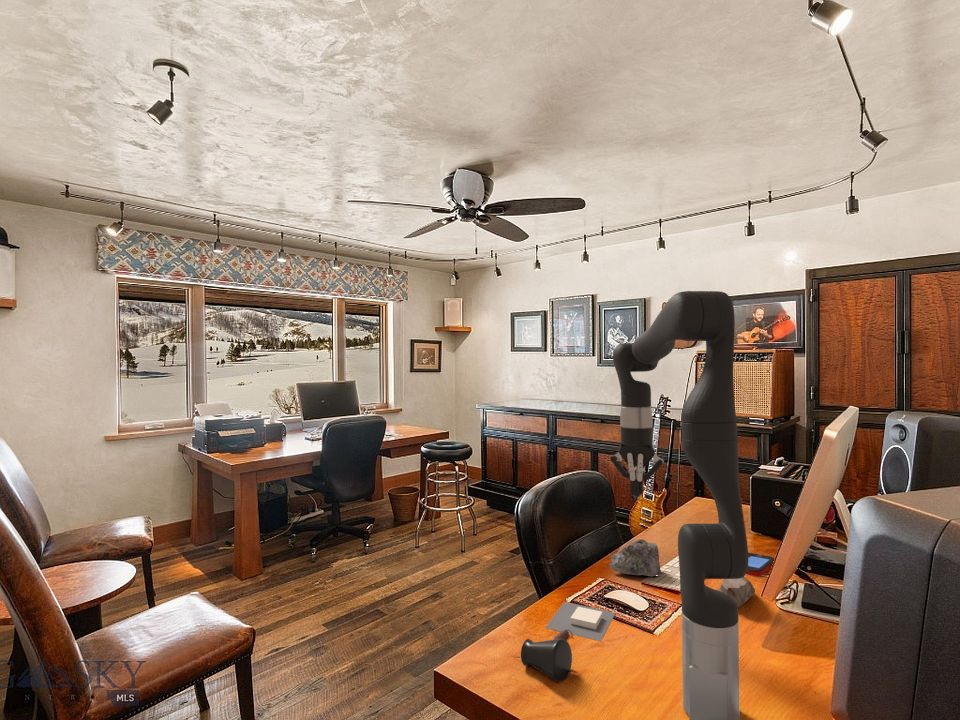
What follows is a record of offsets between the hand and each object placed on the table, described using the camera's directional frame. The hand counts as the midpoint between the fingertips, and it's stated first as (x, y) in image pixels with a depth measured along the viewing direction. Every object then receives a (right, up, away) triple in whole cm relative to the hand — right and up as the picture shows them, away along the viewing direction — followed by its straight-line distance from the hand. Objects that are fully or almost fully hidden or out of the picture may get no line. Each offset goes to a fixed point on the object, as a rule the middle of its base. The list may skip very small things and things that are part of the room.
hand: (637, 495), depth 127 cm
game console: (+41, -29, +29) cm, 58 cm away
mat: (-14, -29, -3) cm, 33 cm away
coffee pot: (-22, -30, -18) cm, 41 cm away
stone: (+27, -29, +6) cm, 40 cm away
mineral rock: (+7, -29, +24) cm, 38 cm away
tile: (-16, -28, -2) cm, 32 cm away
